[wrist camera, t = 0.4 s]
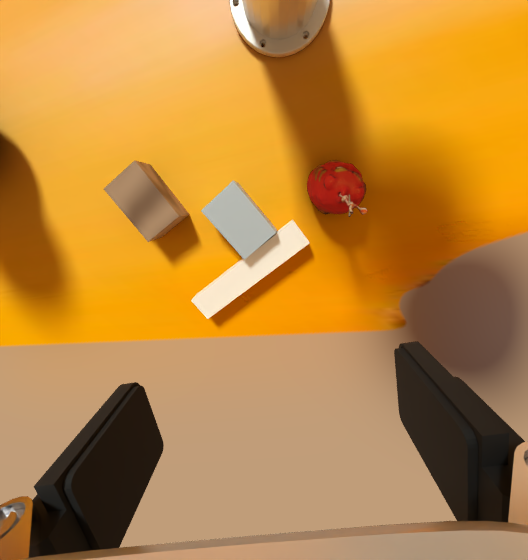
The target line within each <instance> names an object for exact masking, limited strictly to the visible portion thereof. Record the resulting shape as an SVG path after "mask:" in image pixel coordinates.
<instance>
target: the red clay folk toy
mask: <svg viewBox="0 0 528 560" xmlns="http://www.w3.org/2000/svg"><path fill="white" fill-rule="evenodd" d="M307 190H308V194H309V197H310V200H311V201H312V203H313V204H314V205H316V208H317V209H318V211H320V212H322V213H324V214H329V213H331V214H343V213H347V212H349V217H350V216H351V215H350V213H351V214H353V211H352V209H354V208H358V209H359V211H360V212H361V214H362V215H363V214H366V212H367V211H368V210H367V209H366V208H361V207H359V206H358V205H359V204H360V202H361V201H362V199H363V198H364V195H365V192H366V185H365V183H364V182H363V180H362V175H361V173H360V172H359V171H358V170H357V169H356V168H355V167H354V165H353V164H349V163H343V162H341V161H337V160H333V161H329V162H327V163H325V164H324V165H319V166H317V167H316V168H315V169H314V170H313V171H312V172H311V174H310V175H309V178H308V182H307Z"/></svg>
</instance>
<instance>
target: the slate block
mask: <svg viewBox="0 0 528 560" xmlns="http://www.w3.org/2000/svg"><path fill="white" fill-rule="evenodd" d="M201 211H202V212H203V213H204V215H205V216H206V217H207V218H208V219H209V220H210V221H211V223H212V224H213V225H214V226H215V227H216V228H217V229H218V230H219V232H220V233H221V234H222V235H223V236H224V237H225V238H226V240H227V241H228V242H229V243H230V244H231V245H232V246H233V248H234V249H235V250H236V251H237V252H238V253H239V254H240V255H241V257H242V258H243V259H244V260H245V259H246V258H247V257H248V256H249V255H251V254H252V253H253V252H254V251H255V250H257V249H258V248H259V247H260V246H261V245H262V244H264V243H265V242H266V241H267V240H268V239H269V238H271V237H272V236H273V235H274V234H275V233H276V231H277V229H276V228H275V227H274V226H273V224H272V223H271V222H270V221H269V219H268V218H267V217H266V216H265V215H264V213H263V212H262V211H261V210H260V209H259V207H258V206H257V205H256V204H255V203H254V201H253V200H252V199H251V198H250V197H249V195H248V194H247V193H246V192H245V191H244V189H243V188H242V187H241V186H240V185H239V183H237V182H235V181H232V182H231V183H230V184H229V185H228V186H227V187H226V188H225V189H224V190H223V191H222V192H220V193H219V194H218V195H217V196H216V197H215V198H214V199H213V200H212V201H211V202H210V203H209V204H208V205H207V206H206V207H205V208H203V209H202V210H201Z"/></svg>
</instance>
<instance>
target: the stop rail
mask: <svg viewBox="0 0 528 560" xmlns="http://www.w3.org/2000/svg"><path fill="white" fill-rule="evenodd" d="M309 243H310V242H309V241H308V240H307V238H306V237H305V236H304V234H303V233H302V232H301V230H300V229H299V228H298V226H297V225H296V224H295V222H294V221H293V220H291V221H290V222H289V223H287V224H286V225H285V226H284V227H282V228H281V229H280V230H278V231H277V232H276V233H275V234H274V235H273V236H272V237H271V238H269V239H268V240H267V241H266V242H265V243H264V244H262V245H261V246H260V247H259V248H258V249H257V250H255V251H254V252H253V253H252V254H251V255H249V256H248V257H247V258H246V259H245V260H244V259H243V258H242V259H241V260H240V261H239V262H237V263H236V264H235V265H233V266H232V267H231V268H230V269H228V270H227V271H226V272H224V273H223V274H222V275H221V276H219V277H218V278H217V279H215V280H214V281H213V282H212V283H210V284H209V285H208V286H206V287H205V288H204V289H203V290H201V291H200V292H199V293H197V294H196V295H195V297H194V298H193V299H192V300H191V301H192V302H193V303H194V304H195V305H196V306H197V308H198V309H199V310H200V311H201V312H202V313H203V314H204V315H205V317H206V318H207V319H209V318H210V317H211V316H213V315H214V314H215V313H217V312H218V311H219V310H221V309H222V308H223V307H225V306H226V305H227V304H229V303H230V302H231V301H233V300H234V299H235V298H237V297H238V296H239V295H241V294H242V293H243V292H245V291H246V290H248V289H249V288H250V287H252V286H253V285H254V284H256V283H257V282H258V281H260V280H261V279H262V278H264V277H265V276H266V275H268V274H269V273H270V272H272V271H273V270H274V269H276V268H277V267H278V266H280V265H281V264H282V263H284V262H285V261H286V260H288V259H289V258H290V257H292V256H293V255H294V254H296V253H297V252H298V251H300V250H301V249H302V248H304V247H305V246H307V245H308V244H309Z"/></svg>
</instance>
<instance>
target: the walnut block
mask: <svg viewBox="0 0 528 560" xmlns="http://www.w3.org/2000/svg"><path fill="white" fill-rule="evenodd" d="M104 190H105V191H106V192H107V194H108V195H109V196H110V197H111V198H112V200H113V201H114V202H115V203H116V204H117V205H118V207H119V208H120V209H121V210H122V211H123V213H124V214H125V215H126V216H127V217H128V219H129V220H130V221H131V222H132V223H133V224H134V226H135V227H136V228H137V229H138V230H139V232H140V233H141V234H142V235H143V236H144V238H145V239H146V240H147V241H148V242H149V241H152V240H155V239H158V238H161V237H162V236H164V235H165V234H166V233H167V232H169V231H170V230H171V229H172V228H174V227H175V226H176V225H177V224H178V223H180V222H181V221H182V220H183V219H185V218H186V217H187V216H188V215H189V213H188V212H187V211H186V209H185V208H184V207H183V206H182V204H181V203H180V202H179V201H178V199H177V198H176V197H175V195H174V194H173V193H172V192H171V190H170V189H169V188H168V187H167V185H166V184H165V183H164V181H163V180H162V179H161V178H160V176H159V175H158V174H157V173H156V171H155V170H154V169H153V167H152V166H151V165H149V164H146V163H142V162H138V161H134V162H132V163H131V164H130V165H129V166H128V167H127V168H126V169H125V170H124V171H123V172H122V173H120V174H119V175H118V176H117V177H116V178H115V179H114V180H113V181H112V182H111V183H110V184H108V185H107V186H106V187H105V188H104Z"/></svg>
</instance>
